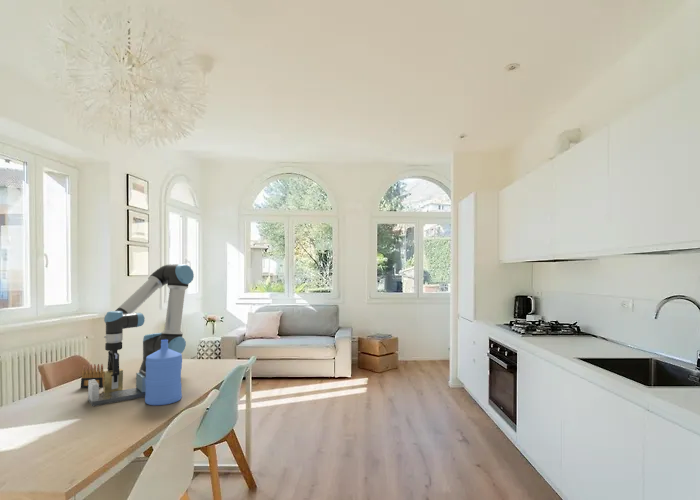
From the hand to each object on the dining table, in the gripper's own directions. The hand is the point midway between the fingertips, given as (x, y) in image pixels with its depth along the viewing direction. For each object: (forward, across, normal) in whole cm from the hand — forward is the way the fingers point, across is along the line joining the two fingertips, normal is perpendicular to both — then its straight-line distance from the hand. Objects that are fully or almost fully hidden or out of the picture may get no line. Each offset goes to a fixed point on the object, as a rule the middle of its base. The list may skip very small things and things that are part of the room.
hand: (112, 386), depth 210 cm
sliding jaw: (0, +16, +10) cm, 19 cm away
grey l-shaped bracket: (+2, +16, 0) cm, 16 cm away
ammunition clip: (+2, -14, -7) cm, 16 cm away
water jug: (+2, +34, +15) cm, 37 cm away
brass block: (+2, 0, 0) cm, 2 cm away
